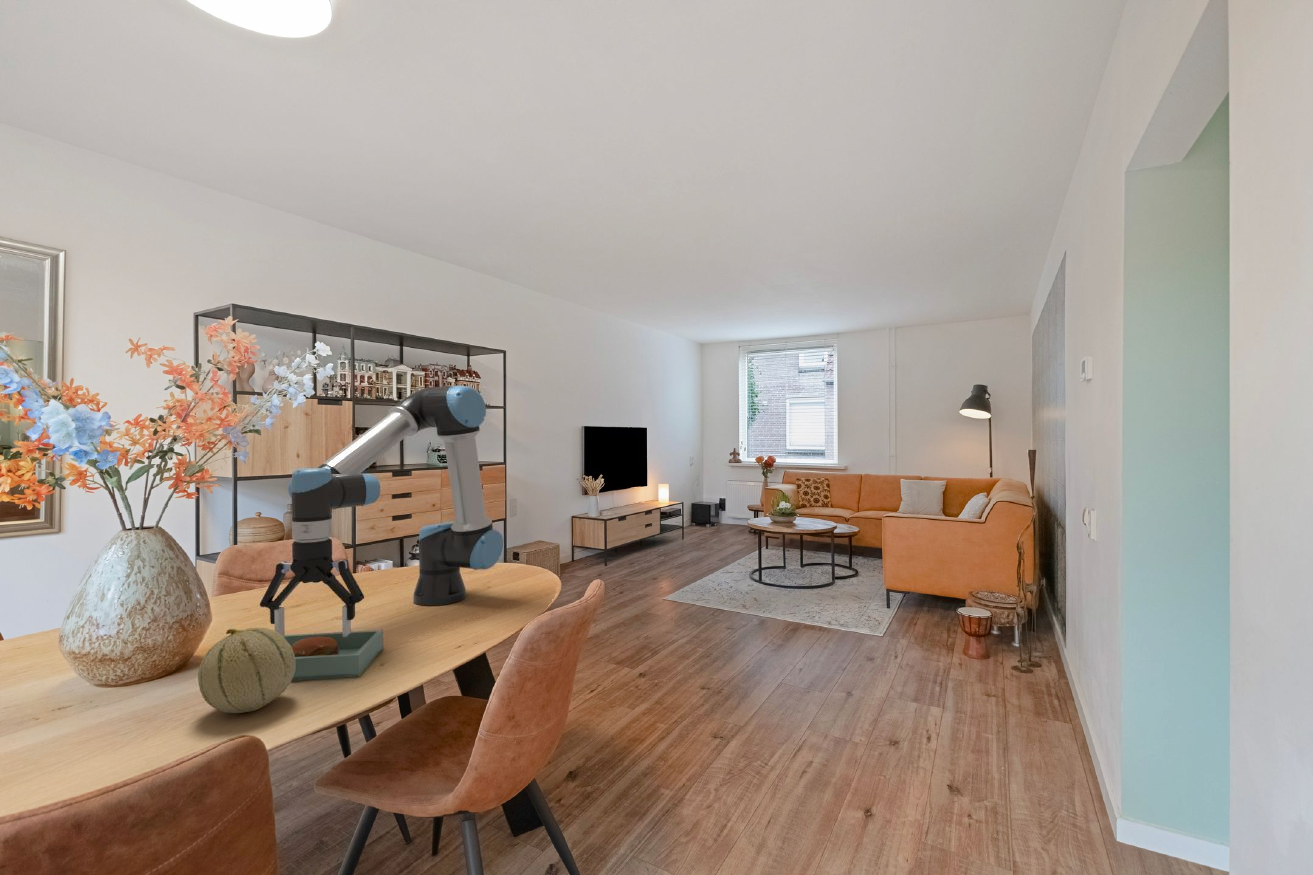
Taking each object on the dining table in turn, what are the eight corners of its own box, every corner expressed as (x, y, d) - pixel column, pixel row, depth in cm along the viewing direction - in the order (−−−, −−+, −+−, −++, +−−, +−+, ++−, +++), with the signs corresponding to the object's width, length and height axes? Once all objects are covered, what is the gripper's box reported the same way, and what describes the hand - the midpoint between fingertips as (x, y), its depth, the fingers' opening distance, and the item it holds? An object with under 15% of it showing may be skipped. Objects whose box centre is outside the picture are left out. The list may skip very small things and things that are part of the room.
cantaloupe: (297, 714, 106) (296, 630, 106) (193, 737, 98) (192, 647, 98) (294, 685, 118) (294, 610, 118) (202, 703, 110) (202, 623, 110)
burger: (315, 650, 135) (314, 630, 135) (348, 655, 132) (348, 634, 132) (276, 667, 125) (276, 645, 125) (311, 672, 123) (311, 650, 123)
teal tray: (272, 655, 135) (272, 635, 135) (383, 648, 138) (383, 629, 138) (232, 684, 119) (232, 662, 119) (358, 676, 122) (358, 655, 122)
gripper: (240, 544, 123) (241, 645, 123) (367, 540, 126) (368, 638, 126) (259, 538, 130) (260, 633, 130) (378, 534, 134) (379, 627, 134)
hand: (313, 636), depth 128 cm, fingers open, 13 cm apart
